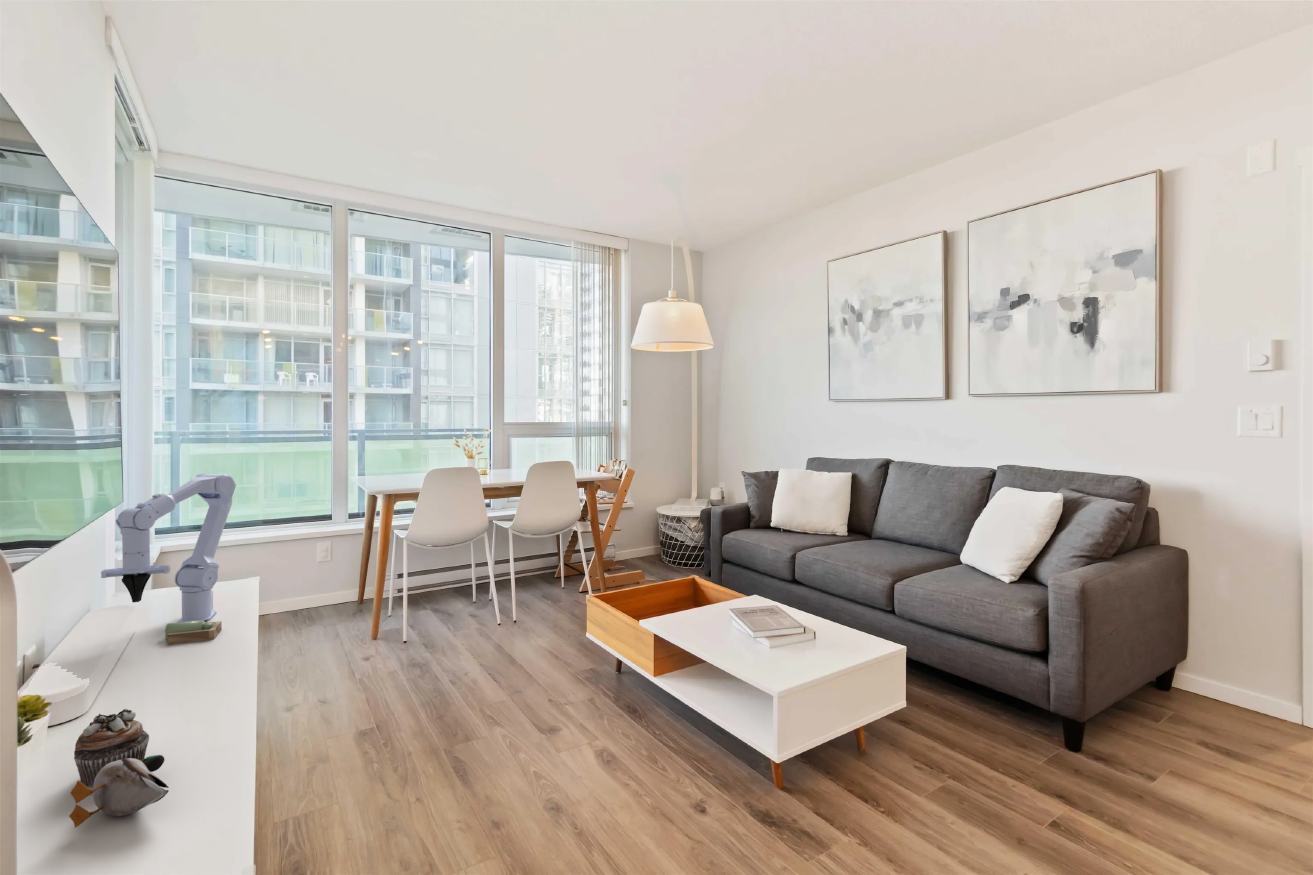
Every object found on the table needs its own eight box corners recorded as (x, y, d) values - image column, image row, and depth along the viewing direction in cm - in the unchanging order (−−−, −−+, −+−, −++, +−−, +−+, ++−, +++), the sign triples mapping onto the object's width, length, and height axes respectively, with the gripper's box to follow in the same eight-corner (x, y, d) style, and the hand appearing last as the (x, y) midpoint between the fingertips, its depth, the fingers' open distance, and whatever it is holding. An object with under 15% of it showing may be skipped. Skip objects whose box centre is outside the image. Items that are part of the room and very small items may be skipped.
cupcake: (69, 796, 98) (68, 734, 98) (79, 769, 106) (79, 711, 105) (147, 777, 103) (146, 718, 103) (151, 752, 111) (151, 697, 111)
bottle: (170, 623, 171) (215, 619, 175) (169, 640, 170) (214, 635, 174) (165, 623, 167) (211, 618, 171) (164, 639, 166) (210, 634, 170)
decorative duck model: (141, 735, 105) (225, 735, 104) (140, 781, 104) (223, 782, 103) (49, 777, 90) (145, 778, 89) (46, 831, 89) (143, 832, 88)
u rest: (177, 634, 172) (177, 625, 172) (221, 629, 177) (221, 621, 176) (167, 644, 165) (167, 634, 165) (214, 638, 169) (214, 629, 169)
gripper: (96, 557, 162) (96, 608, 162) (164, 552, 167) (164, 602, 168) (107, 551, 168) (107, 601, 168) (172, 547, 174) (172, 595, 174)
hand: (136, 601), depth 168 cm, fingers closed
